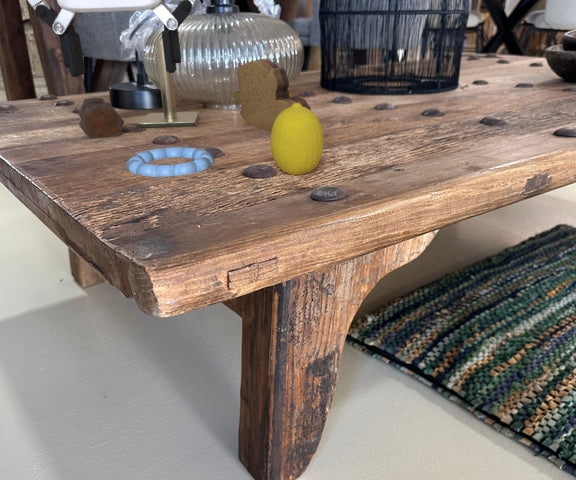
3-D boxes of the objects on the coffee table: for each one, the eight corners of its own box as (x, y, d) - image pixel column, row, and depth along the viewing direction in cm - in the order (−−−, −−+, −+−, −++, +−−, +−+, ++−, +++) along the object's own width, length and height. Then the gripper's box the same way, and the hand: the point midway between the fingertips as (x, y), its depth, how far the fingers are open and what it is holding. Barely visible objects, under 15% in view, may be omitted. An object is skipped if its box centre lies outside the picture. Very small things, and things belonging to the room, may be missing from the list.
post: (141, 131, 84) (128, 41, 78) (149, 120, 91) (138, 37, 85) (195, 129, 84) (187, 40, 79) (199, 119, 92) (192, 36, 86)
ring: (120, 185, 60) (118, 169, 60) (136, 161, 69) (134, 147, 68) (211, 182, 61) (210, 165, 60) (215, 159, 69) (214, 144, 69)
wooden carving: (321, 142, 76) (322, 62, 71) (295, 148, 74) (294, 65, 69) (250, 123, 88) (247, 53, 83) (225, 128, 85) (220, 56, 80)
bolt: (103, 134, 91) (112, 152, 78) (71, 120, 88) (75, 136, 76) (116, 99, 90) (128, 112, 77) (84, 84, 87) (91, 95, 74)
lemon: (278, 189, 58) (276, 109, 55) (267, 174, 63) (264, 99, 59) (329, 185, 59) (331, 105, 56) (315, 170, 64) (315, 96, 60)
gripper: (-19, -132, 48) (29, 81, 56) (186, -137, 49) (206, 74, 57) (13, -117, 55) (52, 72, 63) (193, -121, 56) (210, 66, 63)
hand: (125, 73), depth 60 cm, fingers open, 9 cm apart
